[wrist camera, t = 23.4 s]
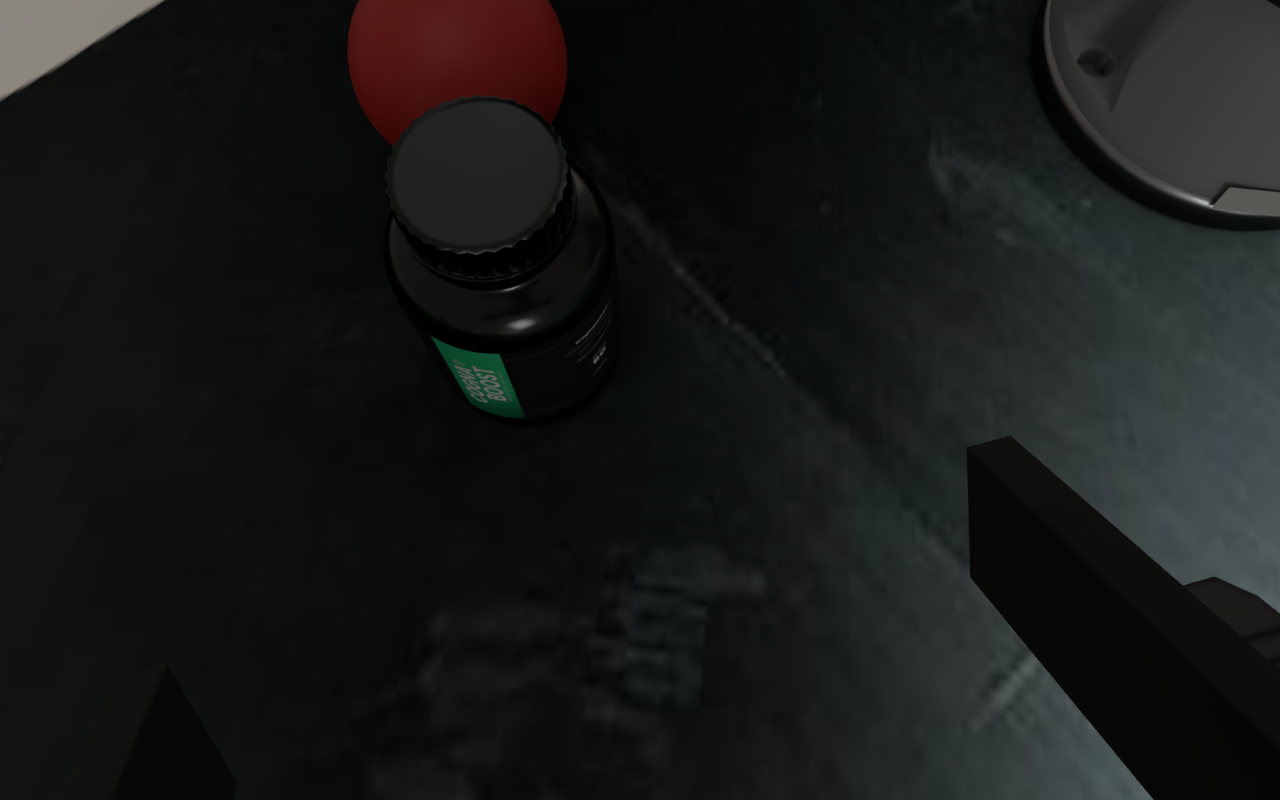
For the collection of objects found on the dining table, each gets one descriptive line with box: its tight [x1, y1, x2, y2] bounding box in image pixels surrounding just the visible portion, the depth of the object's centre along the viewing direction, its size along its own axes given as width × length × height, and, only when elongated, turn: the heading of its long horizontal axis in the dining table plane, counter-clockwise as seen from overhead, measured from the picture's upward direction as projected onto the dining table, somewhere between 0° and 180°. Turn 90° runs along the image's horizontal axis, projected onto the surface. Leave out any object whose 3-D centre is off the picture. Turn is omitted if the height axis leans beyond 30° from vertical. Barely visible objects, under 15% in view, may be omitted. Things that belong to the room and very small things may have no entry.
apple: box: [348, 0, 567, 146], centre depth 33 cm, size 8×8×9 cm
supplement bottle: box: [383, 95, 620, 426], centre depth 29 cm, size 7×7×12 cm
